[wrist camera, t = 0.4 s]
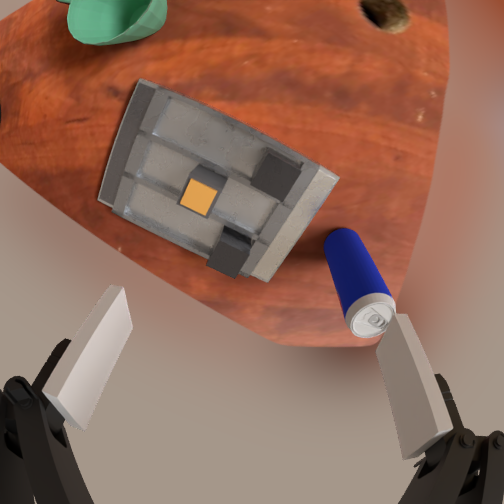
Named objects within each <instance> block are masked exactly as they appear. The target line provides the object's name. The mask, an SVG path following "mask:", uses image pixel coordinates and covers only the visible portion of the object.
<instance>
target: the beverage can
mask: <svg viewBox="0 0 504 504" xmlns="http://www.w3.org/2000/svg"><path fill="white" fill-rule="evenodd" d="M324 252H325V256H326V259H327V262H328V265H329V268H330V271H331V274H332V278H333V281H334V284H335V287H336V291H337V294H338V297H339V301H340V304H341V308H342V311H343V315H344V318H345V322H346V324H347V326H348V328H349V329H350V330H351V331H352V333H353V334H354V335H356V336H358V337H361V338H370V337H374V336H377V335H380V334H381V333H383V332H385V331H386V330H387V328H388V326H389V324H390V322H391V319H392V317H393V315H394V314H396V309H395V302H394V300H393V298H392V296H391V294H390V292H389V290H388V288H387V286H386V284H385V282H384V280H383V278H382V277H381V275H380V273H379V271H378V269H377V267H376V265H375V264H374V262H373V260H372V258H371V256H370V255H369V253H368V251H367V249H366V248H365V246H364V244H363V242H362V241H361V239H360V237H359V236H358V234H357V233H356V232H355V231H353V230H351V229H347V228H342V229H338V230H335V231H334V232H332V233H331V234H330V235H329V236H328V237H327V238H326V240H325V243H324Z"/></svg>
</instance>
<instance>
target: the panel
mask: <svg viewBox="0 0 504 504" xmlns="http://www.w3.org/2000/svg"><path fill="white" fill-rule="evenodd" d="M198 164H199V165H201V166H203V167H205V168H207V169H209V170H211V171H213V172H215V173H217V174H219V175H221V176H223V177H225V178H227V179H228V180H227V182H226V184H225V186H224V188H223V190H222V192H221V194H220V196H219V198H218V200H217V202H216V204H215V206H214V208H213V210H212V212H211V214H210V216H209V218H208V219H206V218H204V217H202V216H200V215H198V214H196V213H194V212H191V211H189V210H187V209H185V208H183V207H181V206H179V205H177V204H176V203H177V201H178V198H179V196H180V194H181V191H182V189H183V187H184V185H185V182H186V180H187V178H188V176H189V174H190V172H191V171H192V170H193V169H194V168H195V167H196V166H197V165H198ZM339 178H340V177H339V176H338V175H337V174H336V173H334V172H333V171H331V170H329V169H328V168H326V167H325V166H323V165H321V164H320V163H318V162H316V161H315V160H313V159H311V158H310V157H308V156H306V155H305V154H303V153H301V152H300V151H298V150H296V149H294V148H293V147H291V146H289V145H287V144H286V143H284V142H282V141H280V140H278V139H276V138H275V137H273V136H271V135H269V134H267V133H265V132H263V131H262V130H260V129H258V128H256V127H254V126H252V125H250V124H248V123H246V122H244V121H242V120H240V119H238V118H236V117H234V116H232V115H230V114H228V113H225V112H223V111H221V110H219V109H217V108H215V107H213V106H210V105H208V104H206V103H204V102H201V101H199V100H197V99H195V98H192V97H190V96H187V95H185V94H183V93H180V92H178V91H175V90H173V89H170V88H168V87H165V86H163V85H160V84H158V83H155V82H152V81H149V80H147V79H142V78H140V79H139V81H138V83H137V85H136V88H135V90H134V92H133V95H132V97H131V99H130V102H129V104H128V107H127V109H126V112H125V114H124V117H123V120H122V122H121V125H120V128H119V130H118V133H117V136H116V139H115V142H114V145H113V148H112V151H111V154H110V157H109V160H108V164H107V167H106V170H105V174H104V177H103V181H102V185H101V188H100V192H99V196H98V201H100V202H102V203H104V204H106V205H108V206H110V207H112V208H113V209H112V212H113V213H115V214H117V215H119V216H121V217H122V218H124V219H126V220H128V221H130V222H132V223H134V224H136V225H138V226H140V227H142V228H144V229H146V230H148V231H150V232H153V233H155V234H157V235H159V236H161V237H163V238H165V239H167V240H169V241H171V242H173V243H175V244H177V245H179V246H181V247H183V248H185V249H187V250H189V251H191V252H194V253H196V254H198V255H200V256H202V257H204V258H206V259H208V261H207V264H206V266H208V267H211V268H213V269H215V270H217V271H219V272H221V273H223V274H226V275H228V276H230V277H232V278H234V279H235V278H236V276H237V275H238V274H240V275H242V276H244V277H246V278H248V277H249V276H250V275H252V276H254V277H256V278H258V279H260V280H263V281H265V282H267V283H268V282H269V280H270V279H271V278H272V276H273V275H274V273H275V272H276V271H277V269H278V268H279V266H280V265H281V264H282V262H283V261H284V259H285V258H286V256H287V255H288V254H289V252H290V251H291V249H292V248H293V246H294V245H295V243H296V242H297V241H298V239H299V238H300V236H301V235H302V233H303V232H304V230H305V229H306V227H307V226H308V225H309V223H310V222H311V220H312V219H313V217H314V216H315V214H316V213H317V211H318V210H319V208H320V207H321V205H322V204H323V202H324V201H325V199H326V198H327V196H328V195H329V193H330V192H331V190H332V189H333V187H334V186H335V184H336V183H337V181H338V180H339Z"/></svg>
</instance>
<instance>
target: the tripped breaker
mask: <svg viewBox="0 0 504 504" xmlns="http://www.w3.org/2000/svg"><path fill="white" fill-rule="evenodd" d="M227 180H228V179H227V178H225V177H223V176H221V175H219V174H217V173H215V172H213V171H211V170H209V169H207V168H205V167H203V166H201V165H199V164H198V165H197V166H196V167H195V168H194V169H193V170H192V171H191V172H190V174H189V176H188V178H187V180H186V182H185V185H184V187H183V189H182V191H181V194H180V196H179V198H178V201H177V203H176V204H177V205H179V206H181V207H183V208H185V209H187V210H189V211H191V212H194V213H196V214H198V215H200V216H202V217H204V218H206V219H208V218H209V216H210V214H211V212H212V210H213V208H214V206H215V204H216V202H217V200H218V198H219V196H220V194H221V192H222V190H223V188H224V186H225V184H226V182H227Z"/></svg>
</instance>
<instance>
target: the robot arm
mask: <svg viewBox="0 0 504 504" xmlns="http://www.w3.org/2000/svg"><path fill="white" fill-rule="evenodd" d="M0 121H1V106H0ZM132 329H133V325H132V321H131V317H130V313H129V309H128V304H127V300H126V295H125V291H124V287H122V286H116V285H110V286H109V287H108V289H107V290H106V291H105V293H104V294H103V295H102V297H101V298H100V300H99V301H98V303H97V304H96V305H95V307H94V308H93V310H92V311H91V312H90V314H89V315H88V317H87V318H86V320H85V321H84V323H83V324H82V326H81V327H80V329H79V330H78V332H77V333H76V335H75V336H74V338H73V340H69V339H66V338H65V339H64V340H63V341H61V342H60V343H59V344H57V345H56V347H55V349H54V350H53V351H52V353H51V355H50V356H49V358H48V360H47V362H46V363H45V364H44V366H43V367H42V369H41V371H40V372H39V374H38V376H37V377H36V379H35V381H34V382H33V384H32V386H31V385H30V384H29V383H28V381H27V380H26V379H25V378H24V377H21V376H14V377H12V378H10V379H9V380H8V381H7V382H6V384H5V386H4V390H3V392H2V391H1V389H0V504H35V502H34V497H35V500H36V502H37V504H94V502H93V500H92V498H91V496H90V494H89V492H88V490H87V487H86V485H85V483H84V480H83V478H82V475H81V473H80V470H79V468H78V465H77V463H76V460H75V457H74V455H73V452H72V449H71V446H70V443H69V440H68V437H67V433H66V430H65V428H64V426H63V423H64V421H65V420H66V421H67V422H68V423H69V424H70V426H73V427H75V428H77V429H80V430H82V431H85V430H86V428H87V425H88V423H89V421H90V418H91V416H92V413H93V411H94V409H95V407H96V404H97V402H98V400H99V398H100V395H101V393H102V391H103V389H104V386H105V384H106V382H107V380H108V378H109V375H110V374H111V371H112V369H113V367H114V365H115V363H116V361H117V359H118V357H119V355H120V353H121V351H122V349H123V347H124V345H125V343H126V341H127V339H128V337H129V335H130V333H131V331H132ZM376 355H377V358H378V361H379V365H380V368H381V372H382V375H383V379H384V382H385V386H386V390H387V393H388V397H389V401H390V405H391V408H392V413H393V417H394V421H395V425H396V430H397V434H398V439H399V443H400V448H401V452H402V458H403V460H406V459H411V458H415V457H418V456H419V455H421V454H422V453H423V452H425V455H426V457H424V458H423V459H421V460H420V461H419V462H417V463H416V464H415V465H414V467H417V466H418V465H420V466H419V468H418V470H417V472H416V474H415V475H414V477H413V479H412V481H411V483H410V485H409V486H408V488H407V490H406V491H405V493H404V495H403V496H402V498H401V500H400V501H399V503H398V504H502V501H503V495H504V433H503V432H501V431H494V432H492V433H491V434H490V435H489V436H487V437H486V436H475V434H474V433H473V432H472V431H471V430H469V429H466V428H464V426H463V424H462V421H461V419H460V416H459V413H458V410H457V407H456V404H455V402H454V400H453V397H452V394H451V393H450V389H449V386H448V384H447V382H446V380H445V379H444V378H443V377H442V376H441V375H440V374H434V373H433V371H432V369H431V366H430V364H429V361H428V359H427V357H426V354H425V352H424V350H423V348H422V346H421V343H420V341H419V339H418V336H417V334H416V332H415V330H414V328H413V326H412V324H411V322H410V319H409V317H408V315H407V314H394V315H393V317H392V319H391V322H390V324H389V326H388V328H387V330H386V332H385V334H384V336H383V338H382V340H381V342H380V344H379V345H378V348H377V350H376ZM478 470H480V472H479V475H478ZM33 494H34V495H33Z"/></svg>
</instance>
